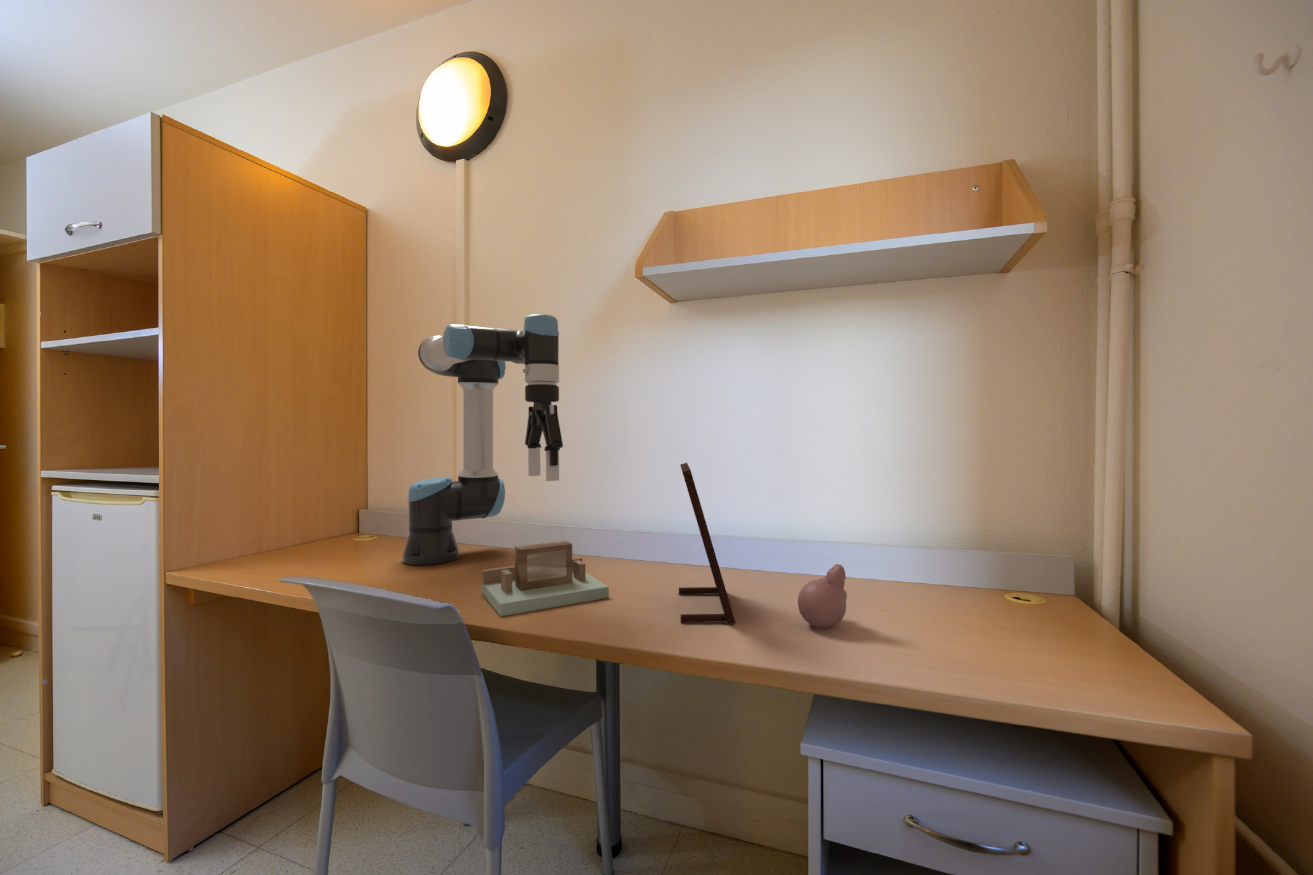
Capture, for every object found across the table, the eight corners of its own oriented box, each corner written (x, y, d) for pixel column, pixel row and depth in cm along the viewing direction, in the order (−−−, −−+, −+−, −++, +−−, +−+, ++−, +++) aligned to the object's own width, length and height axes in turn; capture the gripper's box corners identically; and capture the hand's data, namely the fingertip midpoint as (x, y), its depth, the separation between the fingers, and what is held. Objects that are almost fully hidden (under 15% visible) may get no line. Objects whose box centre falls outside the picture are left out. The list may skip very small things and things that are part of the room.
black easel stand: (735, 624, 107) (734, 469, 107) (680, 625, 107) (679, 469, 107) (724, 592, 128) (723, 462, 127) (678, 592, 128) (677, 462, 128)
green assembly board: (482, 592, 129) (481, 565, 129) (579, 578, 140) (579, 552, 140) (500, 616, 113) (500, 584, 113) (608, 597, 125) (608, 568, 124)
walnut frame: (515, 585, 126) (514, 546, 125) (565, 578, 132) (565, 540, 131) (520, 591, 122) (520, 550, 121) (572, 583, 128) (572, 543, 127)
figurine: (853, 620, 110) (853, 559, 109) (839, 638, 100) (840, 572, 100) (808, 612, 114) (808, 554, 114) (791, 629, 105) (791, 566, 104)
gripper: (511, 387, 135) (512, 474, 136) (542, 380, 113) (543, 484, 114) (541, 388, 139) (542, 473, 139) (577, 381, 117) (578, 482, 117)
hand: (543, 478), depth 126 cm, fingers open, 13 cm apart
